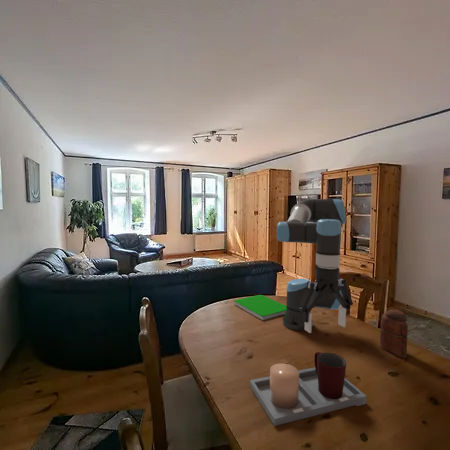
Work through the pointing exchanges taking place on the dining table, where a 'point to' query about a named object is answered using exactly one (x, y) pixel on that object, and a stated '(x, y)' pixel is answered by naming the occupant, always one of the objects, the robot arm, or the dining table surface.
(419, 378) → the dining table surface
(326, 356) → the mug
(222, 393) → the dining table surface
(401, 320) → the brown leather pouch
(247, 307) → the book
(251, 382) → the holder
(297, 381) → the peach rounded cylinder
